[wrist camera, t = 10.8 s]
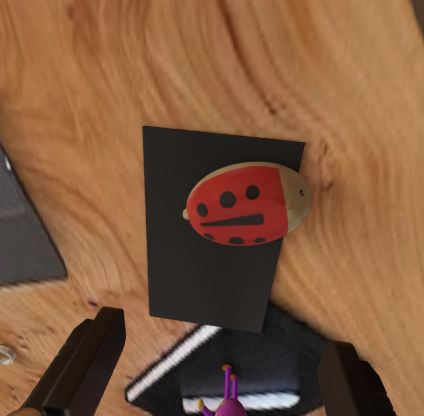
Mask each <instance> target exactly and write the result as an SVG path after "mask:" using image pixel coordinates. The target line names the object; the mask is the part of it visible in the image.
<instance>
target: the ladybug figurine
mask: <svg viewBox="0 0 424 416" xmlns="http://www.w3.org/2000/svg"><path fill="white" fill-rule="evenodd" d="M311 201H312V195H311V190H310V187H309V185H308V183H307V181H306V180H305V179H304V178H303V177H302V176H301V175H300V174H299V173H297V172H296V171H294V170H292V169H290V168H288V167H286V166H283V165H280V164H276V163H271V162H245V163H238V164H234V165H230V166H226V167H224V168H221V169H218V170H216V171H214V172H212V173H210V174H209V175H207V176H206V177H204V178H203V179H202V180H201V181H200V182H198V183H197V185H196V186H195V187H194V188H193V190H192V191H191V193H190V195H189V197H188V200H187V208H186V209H185V210H184V211H183V217H184V218H185V219H187V220H190V223H191V225H192V226H193V228H194V229H195V230H196V231H197V232H198V233H199V234H200V235H202V236H203V237H205V238H207V239H209V240H211V241H214V242H217V243H221V244H226V245H234V246H249V245H257V244H262V243H267V242H270V241H273V240H276V239H278V238H281V237H283V236H285V235H287V234H288V233H290V232H292V231H293V230H295V229H296V228H297V227H298V226H299V225H300V224H301V223H302V222H303V221H304V219H305V218H306V216H307V214H308V212H309V210H310V207H311Z"/></svg>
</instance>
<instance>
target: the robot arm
mask: <svg viewBox="0 0 424 416" xmlns="http://www.w3.org/2000/svg"><path fill="white" fill-rule="evenodd" d="M125 340H126V329H125V320H124V311H123V309H119V308H113V307H106V306H104V307H102V308H101V309H100V311H99V312H98V314H97V316H96V317H95V319H94V320H92V319H86V320H84V321H83V322H82V323H81V324H80V325H78V326H77V327H76V328H75V329H74V330H73V331H72V333H71V334H70V336H69V337H68V339H67V340H66V342H65V345H63V346H62V348H61V349H60V351H59V352H58V355H57V356H56V357H55V358H54V360H53V361H52V363H51V364H50V366H49V367H48V369H47V370H46V372H45V373H44V375H43V376H42V378H41V379H40V381H39V382H38V384H37V385H36V387H35V388H34V390H33V391H32V393H31V394H30V396H29V397H28V399H27V400H26V401H25V403H24V404H23V405H22V406H21V407H20V408H19V409H18V410H16V411H14V412H12V413H10V414H8V415H7V416H94V414H95V412H96V409H97V407H98V405H99V403H100V400H101V398H102V396H103V394H104V391H105V389H106V387H107V385H108V382H109V380H110V378H111V376H112V373H113V371H114V369H115V367H116V364H117V362H118V360H119V358H120V355H121V353H122V351H123V348H124V345H125ZM318 380H319V385H320V389H321V394H322V398H323V402H324V407H325V411H326V415H327V416H397V415H396V413H395V411H393V406H392V404H391V402H390V399H389V397H387V393H386V390H385V388H384V386H383V383H382V381H381V379H380V377H379V375H378V374H377V373H376V372H375V370H374V369H373V368H372V367H371V365H370V364H369V363H368V362H367V361H362V360H359V358H358V355H357V353H356V350H355V348H354V346H353V344H351V343H348V342H342V341H335V340H329V341H328V343H327V345H326V348H325V350H324V353H323V355H322V358H321V360H320V363H319V366H318Z"/></svg>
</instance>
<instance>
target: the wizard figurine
mask: <svg viewBox="0 0 424 416" xmlns="http://www.w3.org/2000/svg"><path fill="white" fill-rule="evenodd" d="M222 369H223V370H224V371H225V372H226V380H225V400H223V401H222V402H221V403H220V405H219V407H218V409H217V411H216V414H215V415H214V414H213V413H212V412H211V411H210V410H209V409H208V408H207V407H206V406H205V405H204V402H203V400H201V399H199V400H198V401H197V408H198V410H200V411H202V412H203V413H204V414H205V415H206V416H247V414H246V411H245V409H244V407H243V405H242V404H241V403H240V402H239V401H238V376H237V375H236V374H231V366H230V365H229V364H225V365H224V366H223V368H222ZM230 374H231V375H230ZM230 380H231V381H233V398H230Z"/></svg>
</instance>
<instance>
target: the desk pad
mask: <svg viewBox="0 0 424 416" xmlns="http://www.w3.org/2000/svg"><path fill="white" fill-rule="evenodd" d="M304 146H305V143H304V142H295V141H286V140H276V139H266V138H257V137H247V136H237V135H228V134H218V133H208V132H199V131H189V130H179V129H170V128H160V127H150V126H143V151H144V178H145V204H146V231H147V257H148V283H149V310H150V316H153V317H160V318H166V319H172V320H179V321H185V322H191V323H198V324H204V325H211V326H217V327H223V328H230V329H236V330H242V331H249V332H255V333H261V331H262V327H263V322H264V318H265V314H266V309H267V305H268V301H269V297H270V292H271V288H272V284H273V279H274V275H275V271H276V266H277V262H278V258H279V253H280V249H281V245H282V240H283V237H281V238H278V239H276V240H273V241H270V242H267V243H262V244H257V245H249V246H234V245H226V244H221V243H217V242H214V241H211V240H209V239H207V238H205V237H203V236H202V235H200V234H199V233H198V232H197V231H196V230H195V229H194V228H193V226H192V225H191V223H190V220H187V219H185V218H184V217H183V211H184V210H185V209H186V208H187V200H188V197H189V195H190V193H191V191H192V190H193V188H194V187H195V186H196V185H197V183H198V182H200V181H201V180H202V179H203V178H204V177H206V176H207V175H209V174H210V173H212V172H214V171H216V170H218V169H221V168H224V167H226V166H230V165H234V164H238V163H245V162H271V163H276V164H280V165H283V166H286V167H288V168H290V169H292V170H294V171H296V172H297V173H298V171H299V167H300V163H301V159H302V154H303V150H304Z"/></svg>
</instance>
